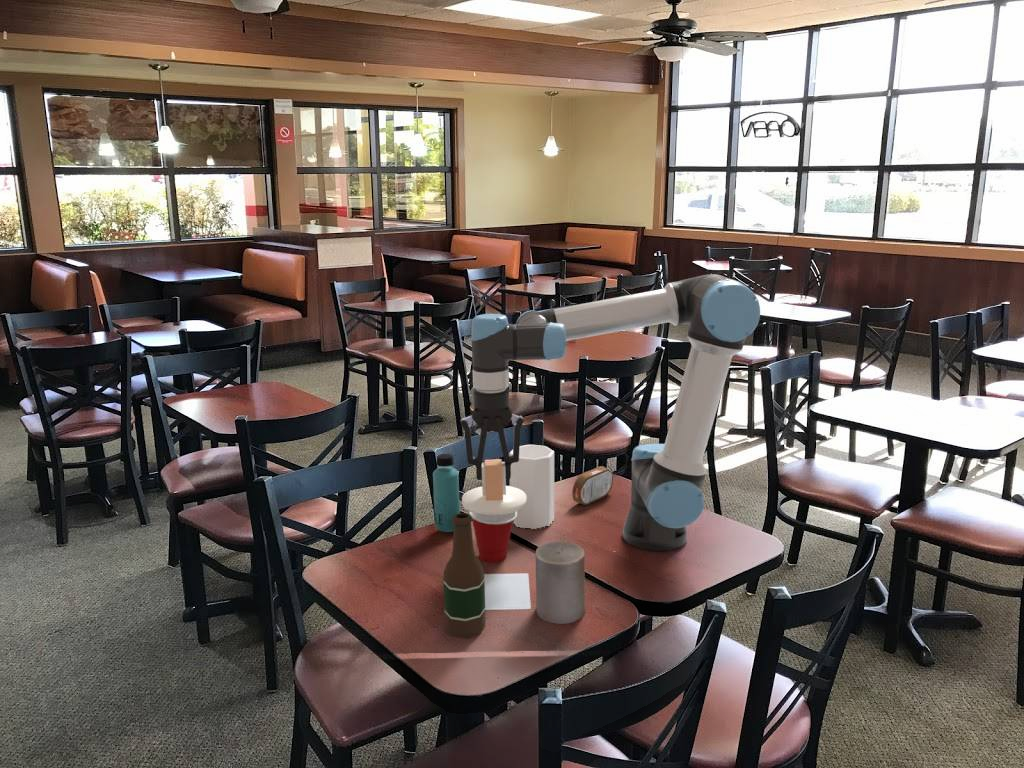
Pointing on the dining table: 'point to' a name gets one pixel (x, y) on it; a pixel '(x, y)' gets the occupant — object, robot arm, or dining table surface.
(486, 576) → the mat
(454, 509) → the beverage bottle
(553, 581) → the pillar candle
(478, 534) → the plastic cup
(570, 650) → the dining table surface
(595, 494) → the tin
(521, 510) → the cup
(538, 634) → the dining table surface
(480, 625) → the beer bottle
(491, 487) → the lid
